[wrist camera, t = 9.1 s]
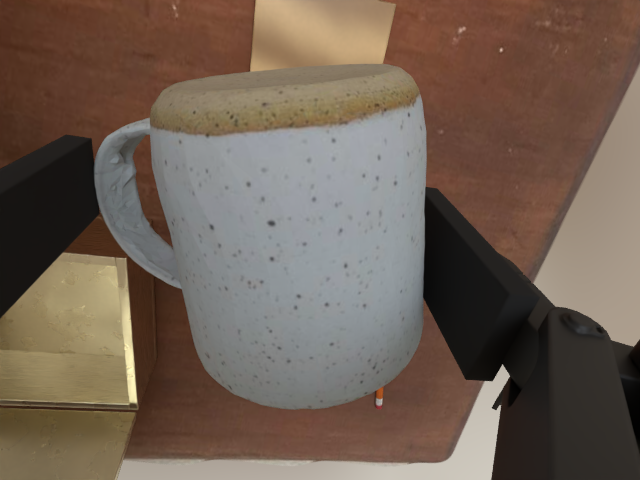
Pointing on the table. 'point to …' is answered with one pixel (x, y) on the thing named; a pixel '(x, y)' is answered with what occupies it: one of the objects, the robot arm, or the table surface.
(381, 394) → the pencil
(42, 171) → the robot arm
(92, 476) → the box lid
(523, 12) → the table surface
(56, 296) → the open metal box
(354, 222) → the ceramic mug
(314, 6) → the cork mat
